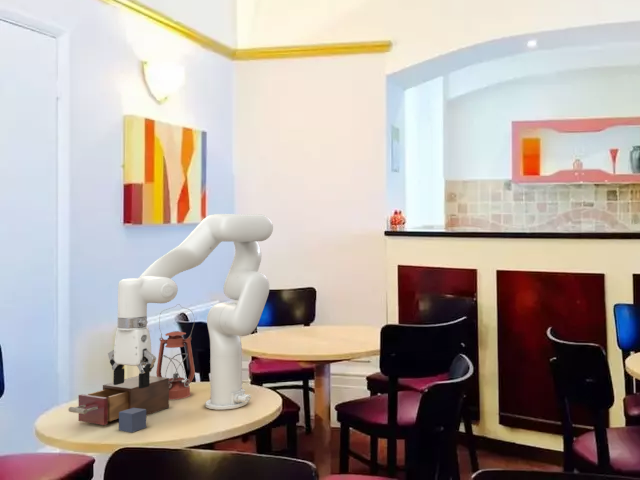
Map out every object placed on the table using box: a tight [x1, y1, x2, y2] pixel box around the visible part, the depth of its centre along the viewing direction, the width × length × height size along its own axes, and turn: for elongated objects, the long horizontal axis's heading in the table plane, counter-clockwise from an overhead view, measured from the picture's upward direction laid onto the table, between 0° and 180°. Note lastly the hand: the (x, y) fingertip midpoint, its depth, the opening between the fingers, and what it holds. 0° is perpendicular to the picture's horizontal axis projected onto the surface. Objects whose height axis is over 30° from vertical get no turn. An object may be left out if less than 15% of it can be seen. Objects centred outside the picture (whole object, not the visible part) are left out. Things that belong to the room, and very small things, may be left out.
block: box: [118, 408, 147, 433], centre depth 189 cm, size 5×5×5 cm
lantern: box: [155, 303, 196, 401], centre depth 226 cm, size 10×10×30 cm
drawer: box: [67, 388, 129, 426], centre depth 196 cm, size 18×10×7 cm, turn 154°
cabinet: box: [102, 375, 170, 416], centre depth 207 cm, size 15×12×9 cm
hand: (131, 385), depth 189 cm, fingers open, 9 cm apart
